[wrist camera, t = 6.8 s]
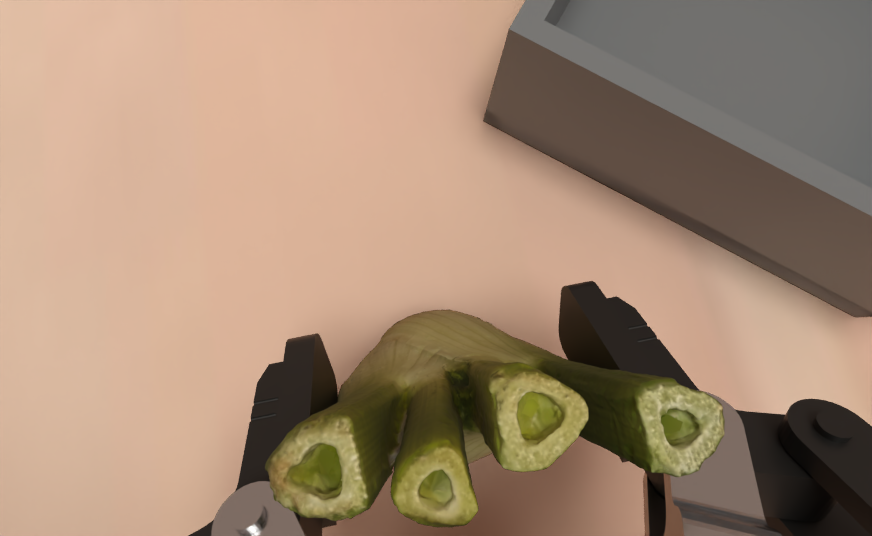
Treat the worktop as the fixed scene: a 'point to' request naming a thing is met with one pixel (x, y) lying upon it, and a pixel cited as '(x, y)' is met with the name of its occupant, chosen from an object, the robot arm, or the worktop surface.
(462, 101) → the worktop surface
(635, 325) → the robot arm
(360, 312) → the worktop surface
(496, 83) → the bin
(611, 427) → the fennel bulb
